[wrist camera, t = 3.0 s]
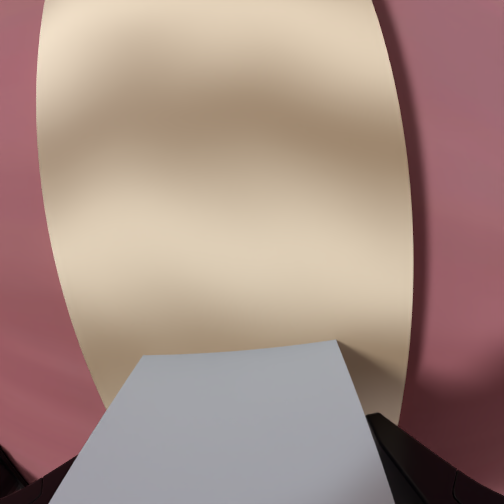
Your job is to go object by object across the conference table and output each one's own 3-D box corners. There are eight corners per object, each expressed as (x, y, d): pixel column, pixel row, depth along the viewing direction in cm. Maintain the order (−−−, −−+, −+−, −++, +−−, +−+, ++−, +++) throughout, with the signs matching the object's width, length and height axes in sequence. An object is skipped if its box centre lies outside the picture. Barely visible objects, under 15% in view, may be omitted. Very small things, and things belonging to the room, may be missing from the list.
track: (379, 462, 11) (399, 522, 7) (157, 476, 11) (137, 532, 8) (300, -126, 5) (304, -174, 2) (77, -77, 6) (44, -113, 2)
